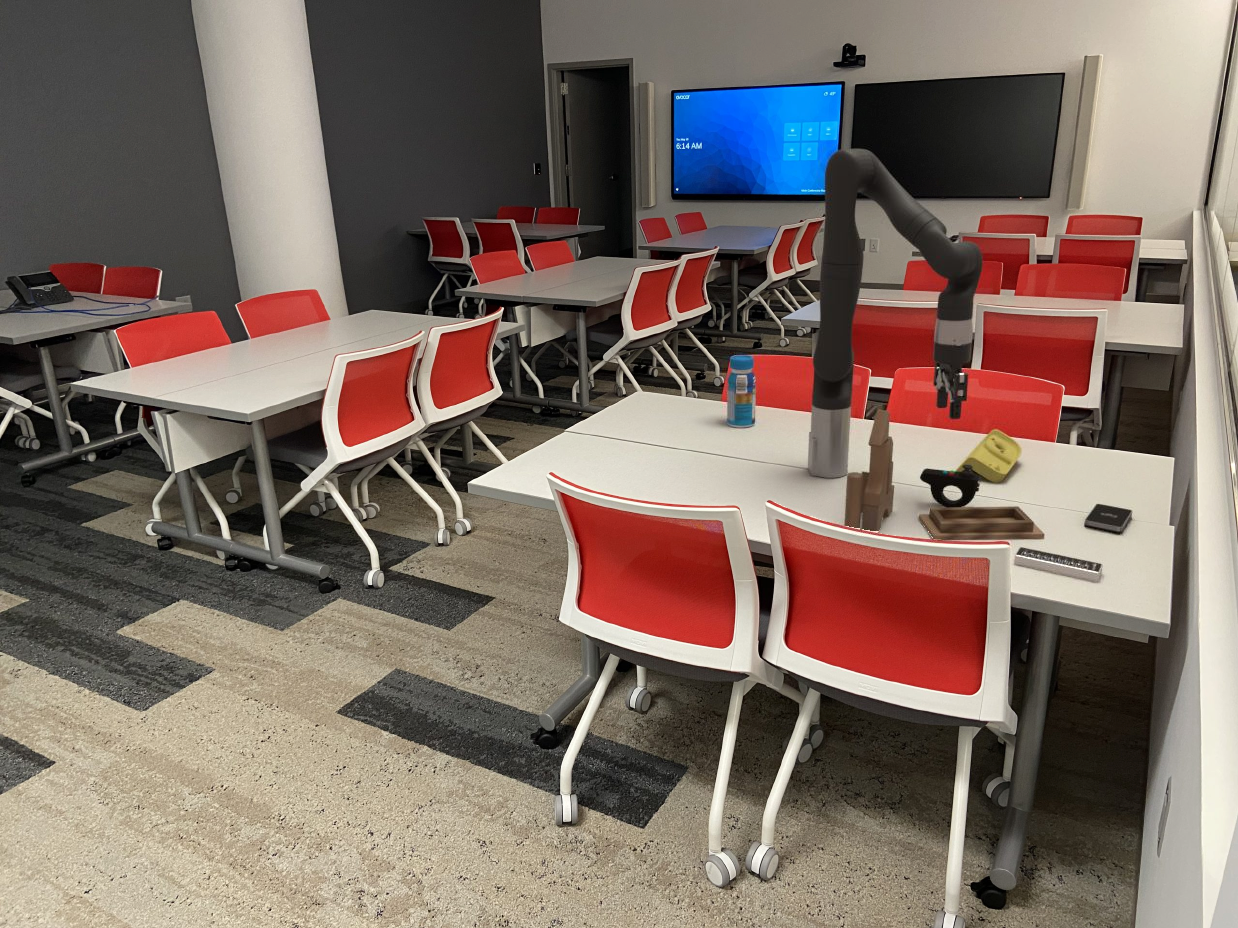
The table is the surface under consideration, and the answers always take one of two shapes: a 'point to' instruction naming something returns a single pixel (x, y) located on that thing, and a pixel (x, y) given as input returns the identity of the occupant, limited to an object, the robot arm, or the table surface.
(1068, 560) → the multiport hub
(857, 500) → the wooden toy
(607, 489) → the table surface
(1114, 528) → the external hard drive
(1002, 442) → the plastic component
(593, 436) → the table surface
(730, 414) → the beverage bottle
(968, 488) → the controller
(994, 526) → the cradle
